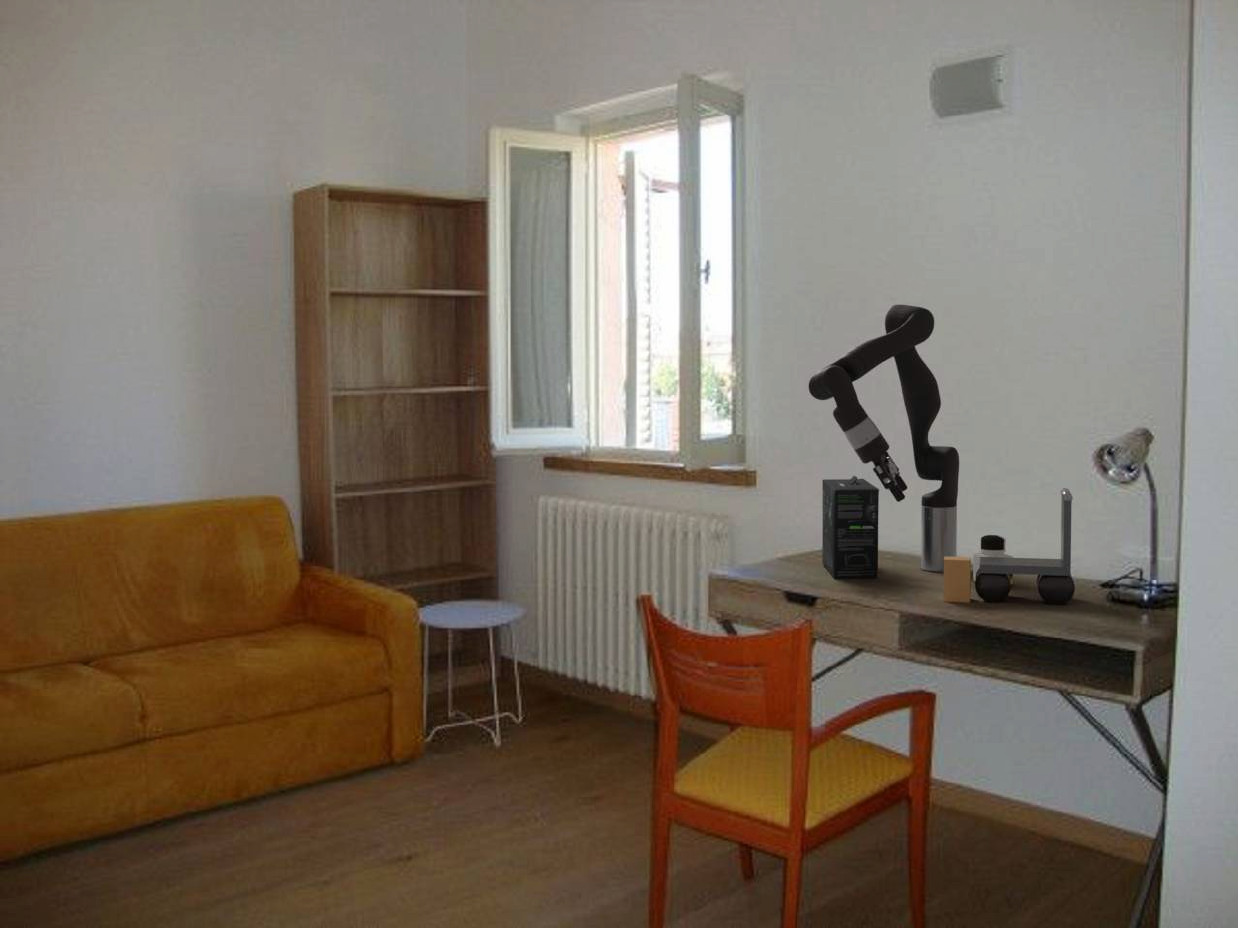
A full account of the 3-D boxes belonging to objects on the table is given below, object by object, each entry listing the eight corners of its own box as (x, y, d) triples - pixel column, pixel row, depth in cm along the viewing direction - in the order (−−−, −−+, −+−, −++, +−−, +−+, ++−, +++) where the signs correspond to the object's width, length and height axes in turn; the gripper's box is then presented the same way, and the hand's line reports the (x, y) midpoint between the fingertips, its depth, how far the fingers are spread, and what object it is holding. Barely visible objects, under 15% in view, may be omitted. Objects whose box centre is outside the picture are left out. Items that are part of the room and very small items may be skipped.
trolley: (975, 592, 299) (976, 486, 297) (1071, 596, 293) (1073, 487, 290) (974, 602, 288) (975, 492, 285) (1074, 606, 281) (1076, 493, 279)
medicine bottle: (988, 586, 307) (988, 538, 306) (972, 581, 314) (973, 534, 313) (1013, 584, 309) (1013, 536, 308) (997, 579, 316) (997, 533, 315)
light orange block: (944, 597, 294) (944, 556, 293) (970, 598, 292) (970, 557, 291) (943, 601, 290) (943, 559, 289) (969, 602, 288) (970, 560, 287)
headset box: (879, 578, 320) (879, 480, 317) (833, 579, 320) (833, 481, 318) (864, 564, 342) (864, 471, 340) (821, 564, 342) (820, 472, 340)
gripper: (877, 438, 288) (914, 495, 289) (882, 425, 301) (918, 479, 302) (849, 454, 291) (887, 511, 292) (855, 440, 304) (891, 494, 305)
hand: (903, 495), depth 297 cm, fingers open, 8 cm apart
